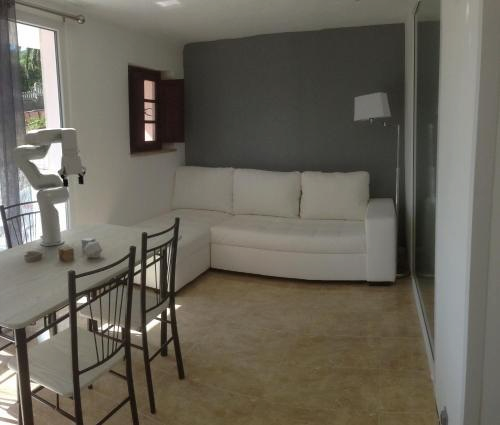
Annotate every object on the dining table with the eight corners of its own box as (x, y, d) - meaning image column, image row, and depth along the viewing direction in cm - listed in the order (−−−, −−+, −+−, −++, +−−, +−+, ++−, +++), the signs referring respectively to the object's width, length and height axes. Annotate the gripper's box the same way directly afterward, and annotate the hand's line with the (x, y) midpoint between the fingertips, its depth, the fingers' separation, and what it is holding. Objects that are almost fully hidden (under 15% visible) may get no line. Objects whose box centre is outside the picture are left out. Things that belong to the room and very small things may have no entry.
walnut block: (59, 260, 242) (58, 249, 241) (68, 257, 246) (66, 246, 245) (65, 262, 239) (64, 250, 238) (74, 259, 243) (73, 248, 242)
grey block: (82, 250, 258) (81, 240, 257) (88, 248, 263) (87, 237, 262) (90, 251, 257) (89, 240, 256) (96, 248, 262) (95, 238, 260)
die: (92, 262, 241) (102, 245, 242) (77, 253, 241) (88, 236, 243) (97, 262, 249) (107, 246, 250) (83, 254, 249) (93, 238, 251)
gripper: (79, 151, 258) (82, 182, 261) (51, 153, 243) (55, 187, 247) (88, 151, 254) (91, 183, 257) (61, 154, 239) (64, 188, 243)
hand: (73, 185), depth 252 cm, fingers open, 9 cm apart
